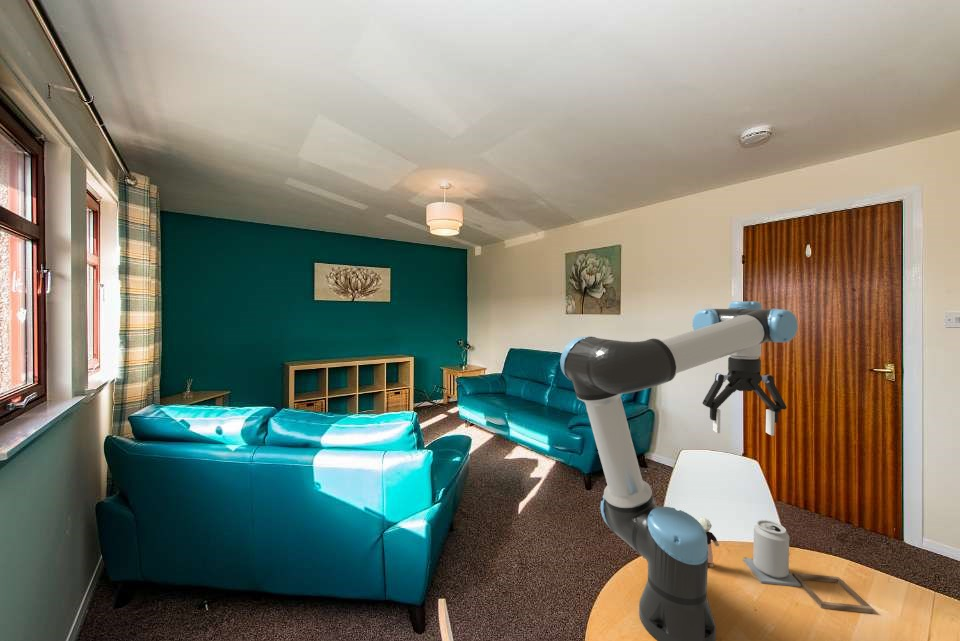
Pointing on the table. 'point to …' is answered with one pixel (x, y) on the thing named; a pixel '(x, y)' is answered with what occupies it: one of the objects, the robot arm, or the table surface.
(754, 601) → the table surface
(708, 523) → the grandmother figurine
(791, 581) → the coaster
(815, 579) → the brown square frame
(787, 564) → the can
